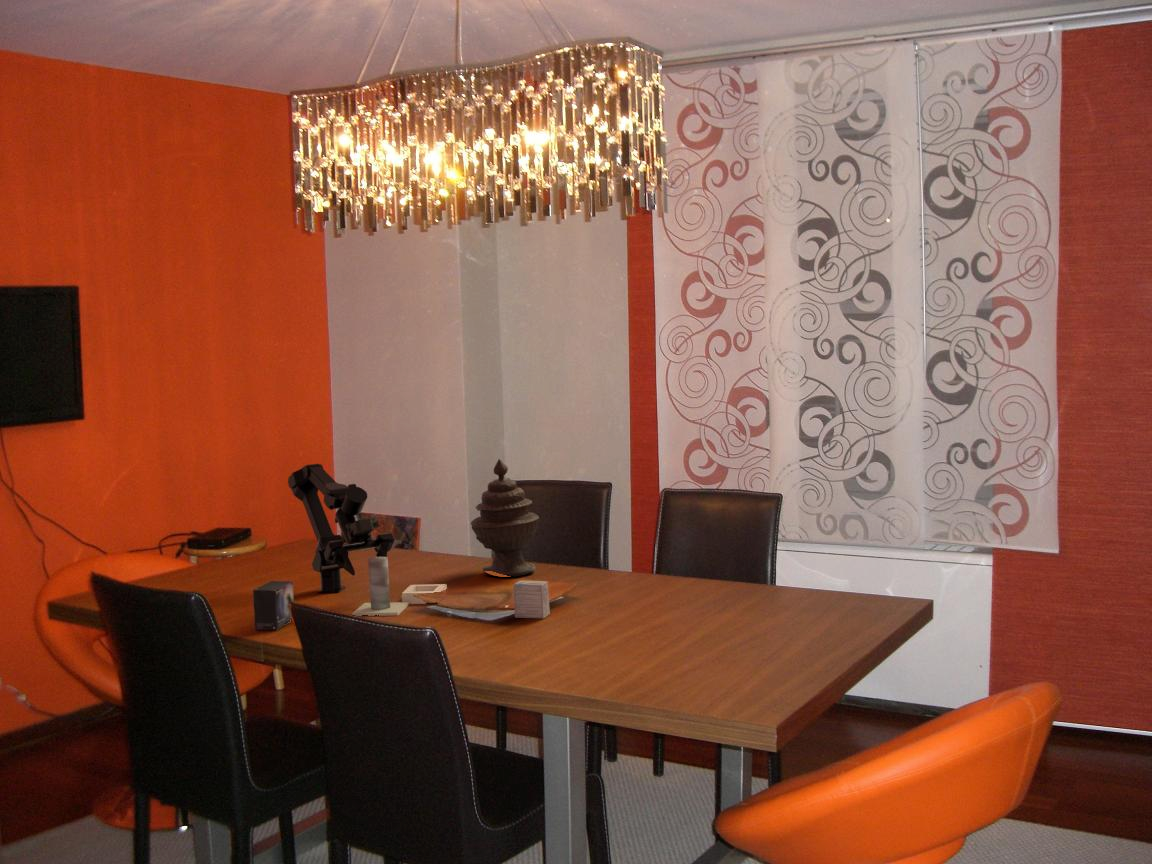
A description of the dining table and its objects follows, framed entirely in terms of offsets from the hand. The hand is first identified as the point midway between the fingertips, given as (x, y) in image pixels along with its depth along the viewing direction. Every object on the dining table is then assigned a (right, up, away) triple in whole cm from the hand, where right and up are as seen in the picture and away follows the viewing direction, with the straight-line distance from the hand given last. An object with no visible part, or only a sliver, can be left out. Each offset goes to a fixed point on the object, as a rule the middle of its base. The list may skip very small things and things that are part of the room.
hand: (370, 572), depth 301 cm
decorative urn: (+34, -5, +36) cm, 50 cm away
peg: (+3, -9, -4) cm, 10 cm away
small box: (-21, -12, -14) cm, 28 cm away
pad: (+3, -10, -4) cm, 11 cm away
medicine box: (+44, -9, -17) cm, 48 cm away
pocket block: (+14, -8, +7) cm, 17 cm away
